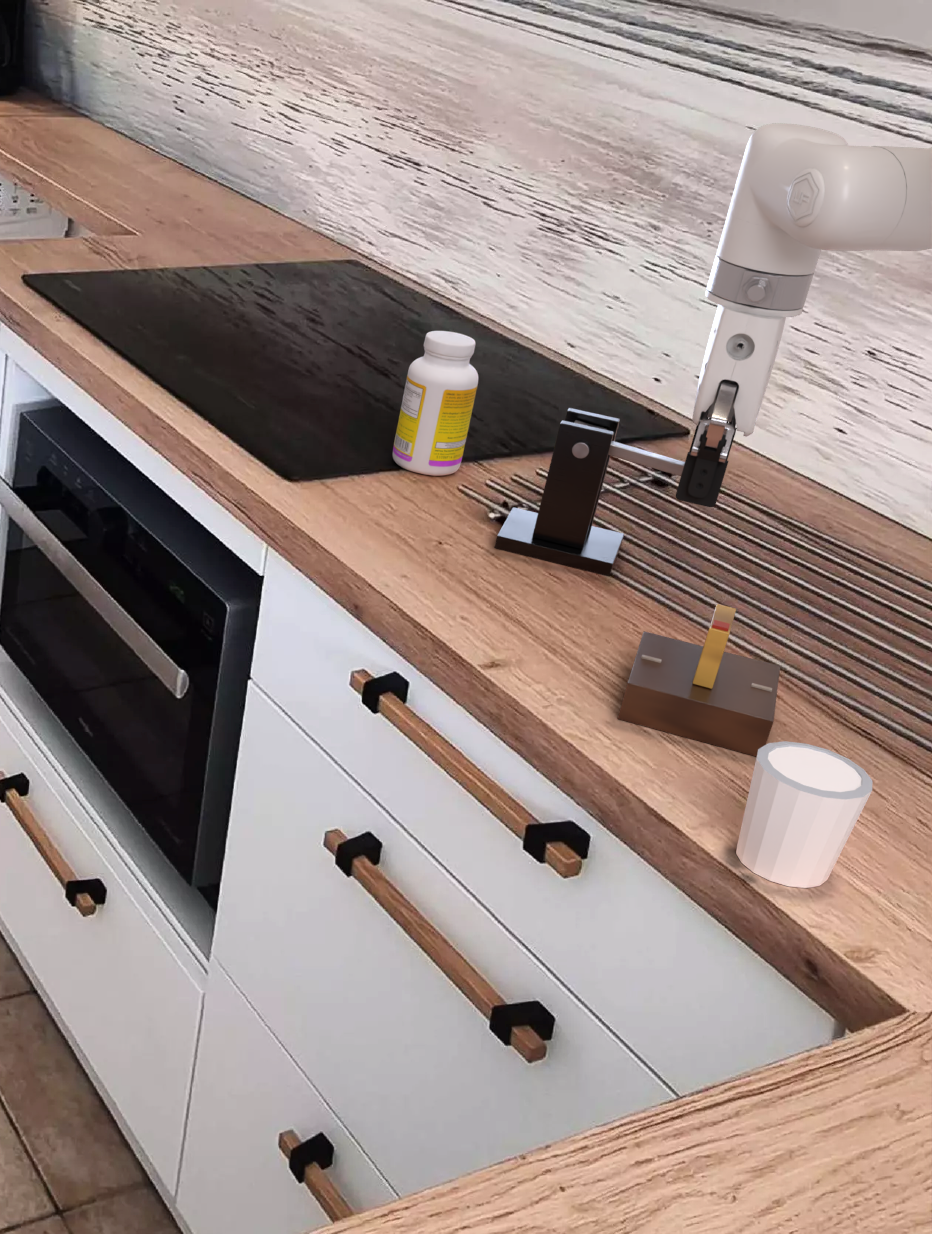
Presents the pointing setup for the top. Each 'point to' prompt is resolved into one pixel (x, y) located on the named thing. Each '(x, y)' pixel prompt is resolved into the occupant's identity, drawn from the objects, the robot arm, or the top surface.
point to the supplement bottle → (437, 406)
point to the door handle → (643, 456)
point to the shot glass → (800, 812)
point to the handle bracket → (569, 501)
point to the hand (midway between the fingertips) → (699, 484)
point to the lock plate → (701, 695)
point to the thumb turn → (714, 646)
